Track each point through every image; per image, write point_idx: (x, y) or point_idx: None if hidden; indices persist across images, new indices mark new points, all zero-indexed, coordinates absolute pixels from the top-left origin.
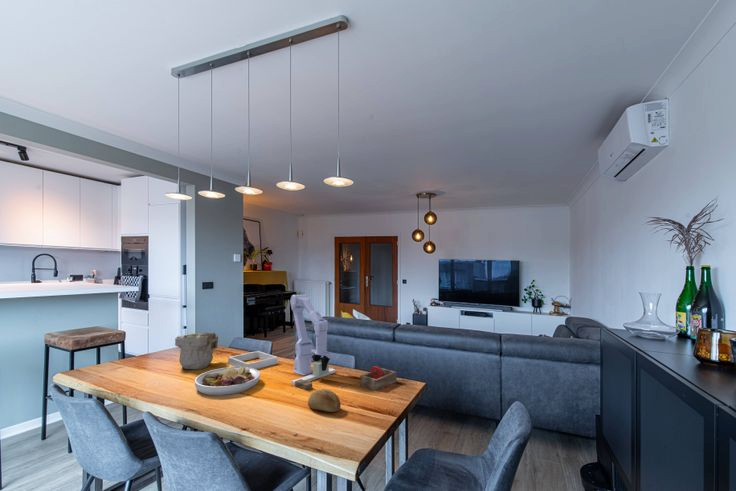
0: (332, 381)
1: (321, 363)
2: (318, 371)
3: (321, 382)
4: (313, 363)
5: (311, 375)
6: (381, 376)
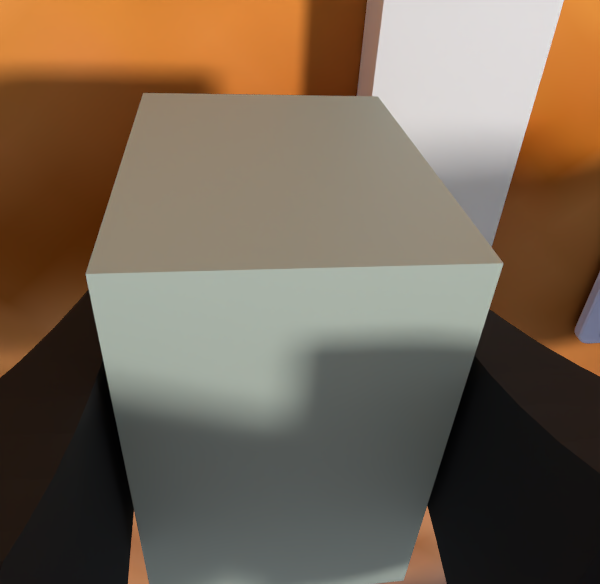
0: (28, 262)
1: (108, 382)
2: (152, 133)
3: (121, 93)
4: (474, 239)
5: (471, 144)
6: None
